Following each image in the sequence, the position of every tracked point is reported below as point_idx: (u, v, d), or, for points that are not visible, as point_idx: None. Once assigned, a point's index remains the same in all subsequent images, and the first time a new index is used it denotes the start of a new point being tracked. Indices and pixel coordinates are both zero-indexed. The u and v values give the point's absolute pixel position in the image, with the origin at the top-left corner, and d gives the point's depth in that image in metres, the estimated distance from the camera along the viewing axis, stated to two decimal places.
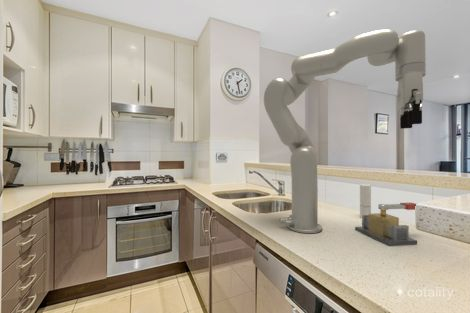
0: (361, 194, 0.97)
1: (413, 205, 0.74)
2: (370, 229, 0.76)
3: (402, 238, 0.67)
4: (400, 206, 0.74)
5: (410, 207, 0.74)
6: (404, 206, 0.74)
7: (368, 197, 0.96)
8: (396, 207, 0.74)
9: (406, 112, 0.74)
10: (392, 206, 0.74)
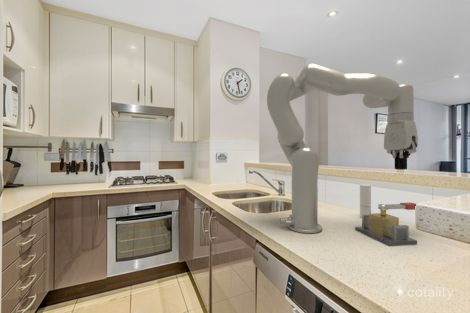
0: (361, 194, 0.97)
1: (413, 205, 0.74)
2: (370, 229, 0.76)
3: (402, 238, 0.67)
4: (400, 206, 0.74)
5: (410, 207, 0.74)
6: (404, 206, 0.74)
7: (368, 197, 0.96)
8: (396, 207, 0.74)
9: (397, 154, 0.81)
10: (392, 206, 0.74)
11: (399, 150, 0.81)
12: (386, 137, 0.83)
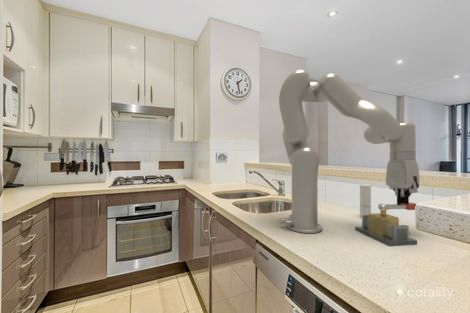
0: (361, 194, 0.97)
1: (414, 205, 0.74)
2: (370, 229, 0.76)
3: (402, 238, 0.67)
4: (400, 206, 0.74)
5: (411, 208, 0.74)
6: (405, 206, 0.74)
7: (368, 197, 0.96)
8: (396, 207, 0.74)
9: (400, 191, 0.80)
10: (392, 206, 0.74)
11: None
12: (388, 173, 0.82)
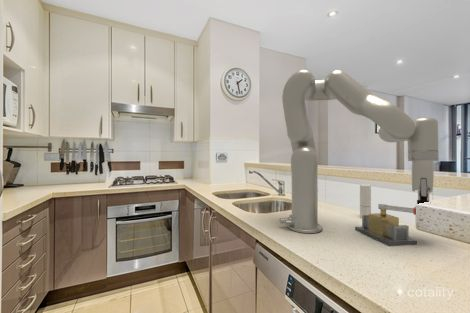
0: (361, 194, 0.97)
1: None
2: (370, 229, 0.76)
3: (402, 238, 0.67)
4: (403, 209, 0.70)
5: None
6: (410, 210, 0.69)
7: (368, 197, 0.96)
8: (397, 209, 0.71)
9: None
10: (392, 207, 0.72)
11: None
12: None
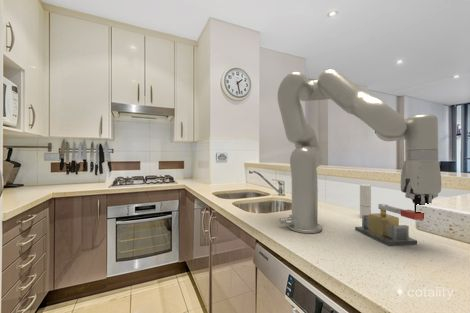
0: (361, 194, 0.97)
1: (407, 212, 0.64)
2: (370, 229, 0.76)
3: (402, 238, 0.67)
4: (395, 210, 0.69)
5: (403, 214, 0.65)
6: (399, 211, 0.67)
7: (368, 197, 0.96)
8: (391, 210, 0.70)
9: (425, 199, 0.65)
10: (387, 207, 0.72)
11: None
12: None
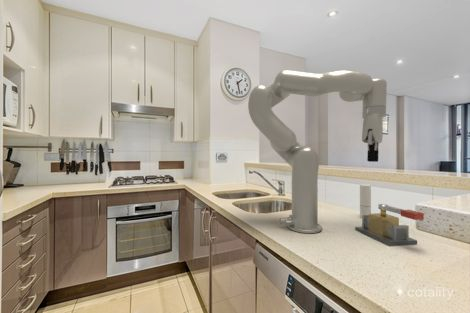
0: (361, 194, 0.97)
1: (407, 212, 0.64)
2: (370, 229, 0.76)
3: (402, 238, 0.67)
4: (395, 210, 0.69)
5: (403, 214, 0.65)
6: (399, 211, 0.67)
7: (368, 197, 0.96)
8: (391, 210, 0.70)
9: None
10: (387, 207, 0.72)
11: None
12: None
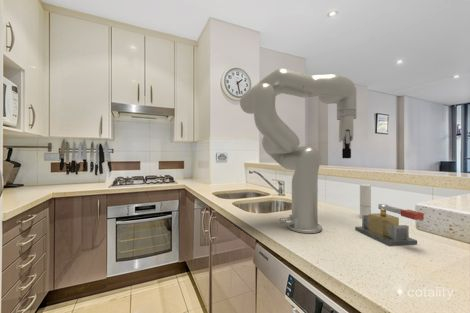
0: (361, 194, 0.97)
1: (407, 212, 0.64)
2: (370, 229, 0.76)
3: (402, 238, 0.67)
4: (395, 210, 0.69)
5: (403, 214, 0.65)
6: (399, 211, 0.67)
7: (368, 197, 0.96)
8: (391, 210, 0.70)
9: None
10: (387, 207, 0.72)
11: None
12: None
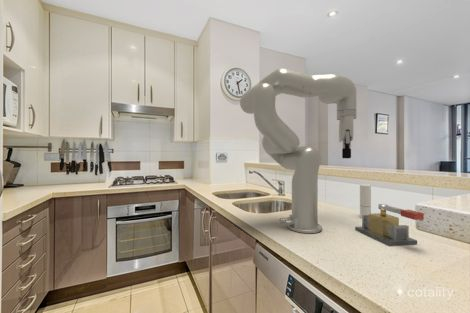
0: (361, 194, 0.97)
1: (407, 212, 0.64)
2: (370, 229, 0.76)
3: (402, 238, 0.67)
4: (395, 210, 0.69)
5: (403, 214, 0.65)
6: (399, 211, 0.67)
7: (368, 197, 0.96)
8: (391, 210, 0.70)
9: None
10: (387, 207, 0.72)
11: None
12: None
